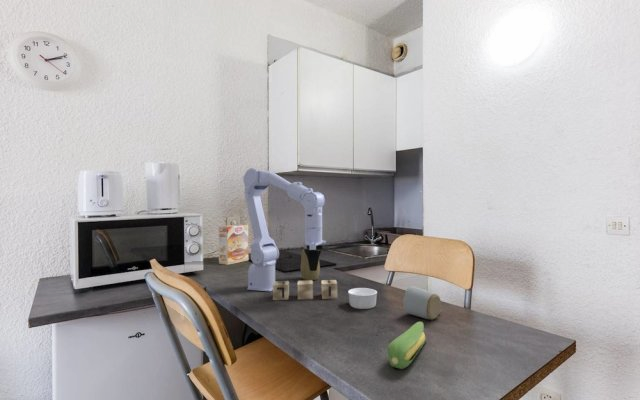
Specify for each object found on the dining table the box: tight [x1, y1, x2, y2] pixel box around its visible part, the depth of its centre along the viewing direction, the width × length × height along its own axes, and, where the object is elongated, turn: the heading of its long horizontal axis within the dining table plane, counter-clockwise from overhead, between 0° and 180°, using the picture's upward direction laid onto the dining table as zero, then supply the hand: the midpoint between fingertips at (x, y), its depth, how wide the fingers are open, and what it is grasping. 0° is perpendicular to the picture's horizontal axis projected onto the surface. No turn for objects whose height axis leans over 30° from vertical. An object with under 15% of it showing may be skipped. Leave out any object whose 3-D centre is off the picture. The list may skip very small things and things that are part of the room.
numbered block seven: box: [272, 280, 290, 301], centre depth 112 cm, size 5×5×5 cm
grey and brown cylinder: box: [402, 285, 442, 321], centre depth 94 cm, size 11×8×8 cm
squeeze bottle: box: [299, 243, 321, 281], centre depth 137 cm, size 8×8×18 cm
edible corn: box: [386, 321, 426, 370], centre depth 71 cm, size 5×20×5 cm
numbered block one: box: [320, 279, 338, 300], centre depth 113 cm, size 5×5×5 cm
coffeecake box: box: [218, 223, 249, 266], centre depth 177 cm, size 15×7×20 cm, turn 147°
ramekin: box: [347, 287, 378, 310], centre depth 103 cm, size 9×9×4 cm
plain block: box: [297, 280, 314, 300], centre depth 112 cm, size 5×5×5 cm
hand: (313, 268), depth 113 cm, fingers open, 7 cm apart
